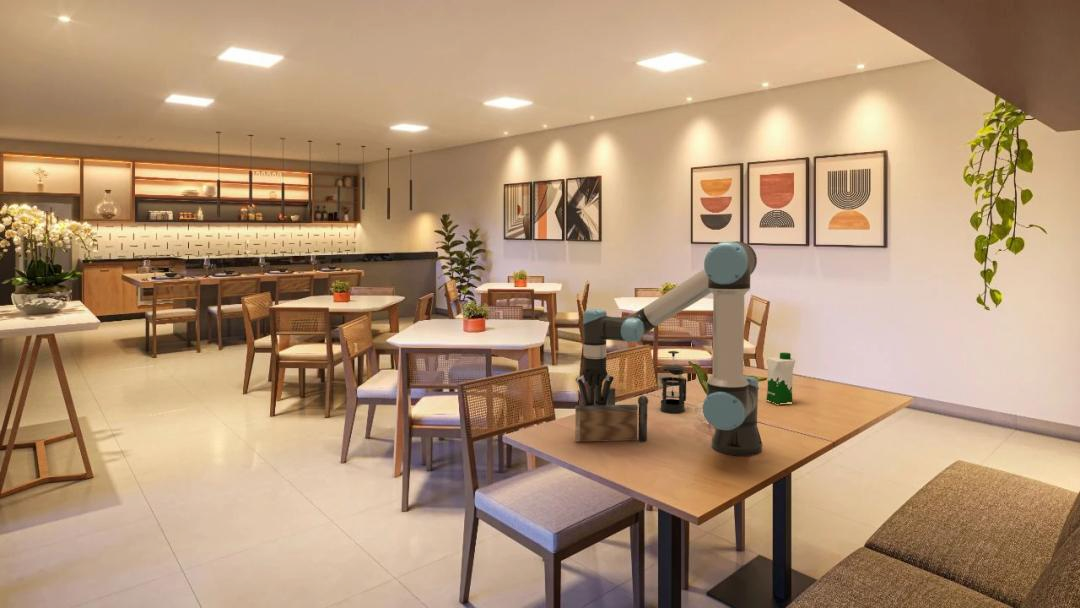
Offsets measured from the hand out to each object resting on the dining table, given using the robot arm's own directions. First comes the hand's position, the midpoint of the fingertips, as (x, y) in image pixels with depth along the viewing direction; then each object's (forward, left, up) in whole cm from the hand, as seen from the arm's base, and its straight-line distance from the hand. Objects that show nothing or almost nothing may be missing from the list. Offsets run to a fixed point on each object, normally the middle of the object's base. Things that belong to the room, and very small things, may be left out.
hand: (594, 426), depth 206 cm
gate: (-4, -2, -3) cm, 6 cm away
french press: (+20, -43, -4) cm, 47 cm away
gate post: (-8, -14, -4) cm, 16 cm away
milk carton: (+14, -88, -4) cm, 89 cm away
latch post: (+16, -14, -4) cm, 22 cm away
